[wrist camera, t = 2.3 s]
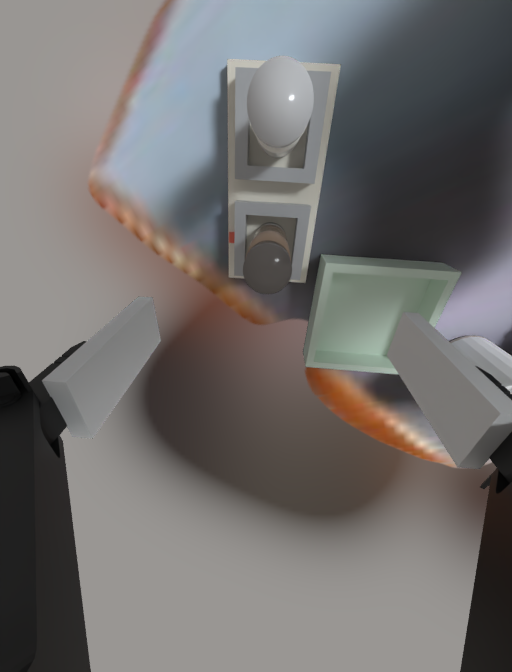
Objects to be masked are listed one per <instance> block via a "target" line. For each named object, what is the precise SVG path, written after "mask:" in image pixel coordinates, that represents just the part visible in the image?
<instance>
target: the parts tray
mask: <svg viewBox="0 0 512 672" xmlns="http://www.w3.org/2000/svg"><path fill="white" fill-rule="evenodd" d="M461 273H462V272H460V271H458V270H456V269H454V268H452V267H450V266H448V265H446V264H444V263H440V262H426V261H411V260H397V259H382V258H368V257H353V256H339V255H324V254H321V257H320V262H319V268H318V273H317V279H316V284H315V289H314V295H313V300H312V306H311V311H310V316H309V322H308V327H307V333H306V338H305V344H304V349H303V355H304V361H305V366H306V367H314V368H326V369H338V370H350V371H363V372H375V373H387V374H398V372H397V371H396V369H395V368H394V366H393V364H392V363H391V361H390V360H389V358H388V357H387V353H388V351H389V348H390V345H391V343H392V340H393V338H394V335H395V332H396V330H397V327H398V324H399V322H400V319H401V317H402V314H403V312H411V313H419V314H420V315H421V316H422V317H423V318H424V319H425V320H426V321H428V322H429V323H430V324H431V325H432V326H433V327H434V328H435V326H436V324H437V322H438V320H439V318H440V316H441V314H442V312H443V310H444V307H445V305H446V303H447V301H448V299H449V297H450V295H451V293H452V291H453V289H454V287H455V285H456V283H457V281H458V279H459V277H460V275H461Z"/></svg>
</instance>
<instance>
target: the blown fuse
mask: <svg viewBox="0 0 512 672" xmlns="http://www.w3.org/2000/svg"><path fill="white" fill-rule="evenodd" d="M291 274H292V265H291V256H290V251H289V246H288V241H287V237H286V233H285V231H284V229H283V228H282V227H281V226H280V225H278V224H277V223H273V222H267V223H264V224H262V225H261V226H260V227H259V228H258V229H257V230H256V232H255V234H254V236H253V239H252V241H251V244H250V246H249V249H248V252H247V254H246V258H245V261H244V265H243V276H244V279H245V281H246V283H247V284H248V285H249V287H250V288H252V289H253V290H254V291H256V292H258V293H262V294H273V293H276V292H279V291H280V290H282V289H283V288H284V287H285V286H286V285H287V284H288V282H289V280H290V278H291Z"/></svg>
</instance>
